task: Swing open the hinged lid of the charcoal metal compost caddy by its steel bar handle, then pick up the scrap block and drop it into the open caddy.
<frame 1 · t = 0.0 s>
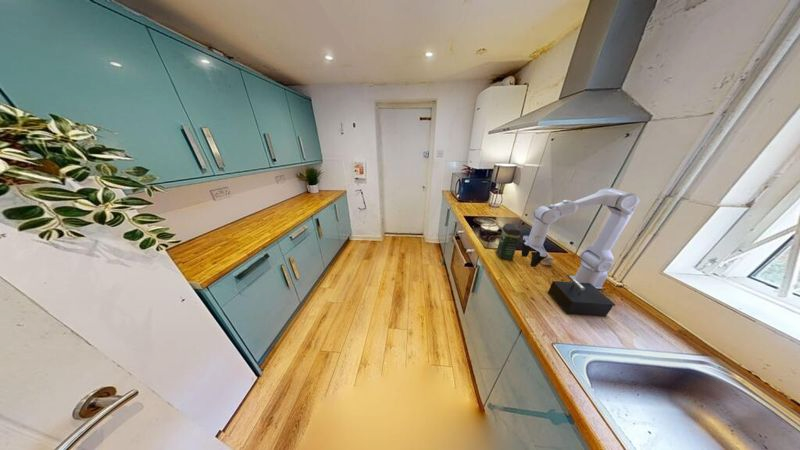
hand: (528, 261, 89), 10 cm above the counter, tool pointing down, fingers open, 7 cm apart
caddy lid: (583, 288, 76), point 8 cm above the counter, hinge at 0.0°
coffee jar: (504, 255, 111), on the counter
caddy: (574, 303, 80), on the counter
scrap block: (544, 262, 106), on the counter
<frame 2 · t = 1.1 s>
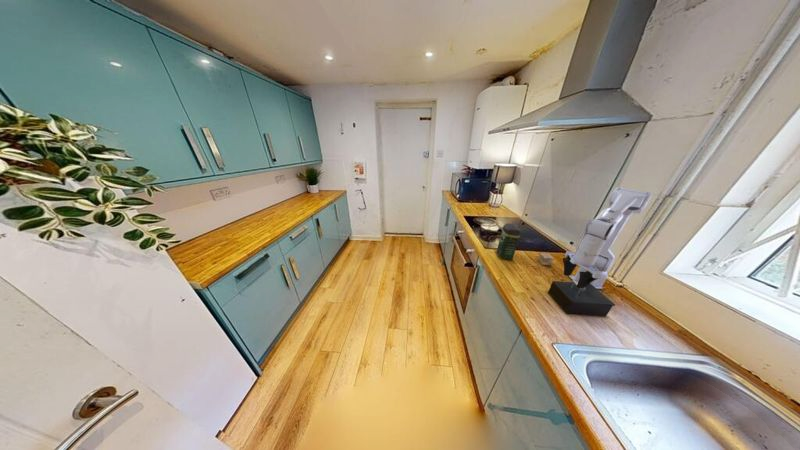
hand: (573, 281, 77), 10 cm above the counter, tool pointing down, fingers open, 7 cm apart
caddy lid: (583, 288, 76), point 8 cm above the counter, hinge at -0.2°, touching caddy, gripper
everything else where it was.
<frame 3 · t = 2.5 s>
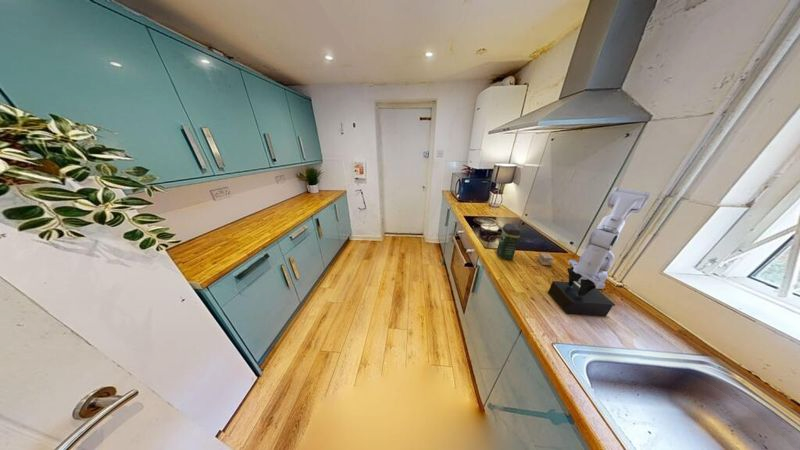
hand: (576, 290, 77), 7 cm above the counter, tool pointing down, fingers closed on caddy lid, 4 cm apart
caddy lid: (583, 288, 76), point 8 cm above the counter, hinge at -0.2°, touching caddy, gripper
everything else where it was.
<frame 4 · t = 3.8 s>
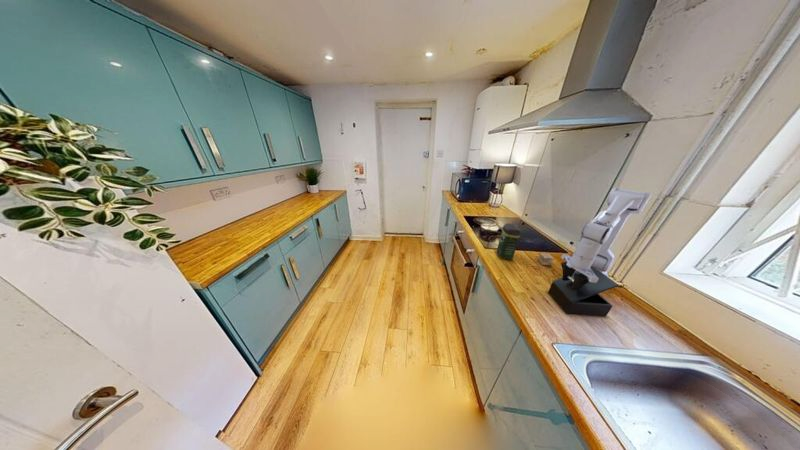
hand: (569, 284, 76), 10 cm above the counter, tool pointing down, fingers closed on caddy lid, 4 cm apart
caddy lid: (581, 279, 75), point 12 cm above the counter, hinge at 36.9°, touching gripper
everything else where it was.
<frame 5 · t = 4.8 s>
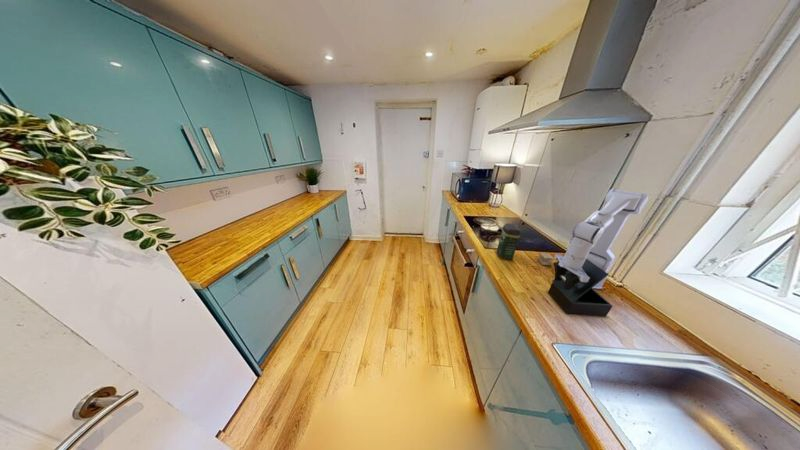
hand: (561, 284, 76), 9 cm above the counter, tool pointing down, fingers closed on caddy lid, 4 cm apart
caddy lid: (573, 276, 74), point 14 cm above the counter, hinge at 64.1°, touching gripper
everything else where it was.
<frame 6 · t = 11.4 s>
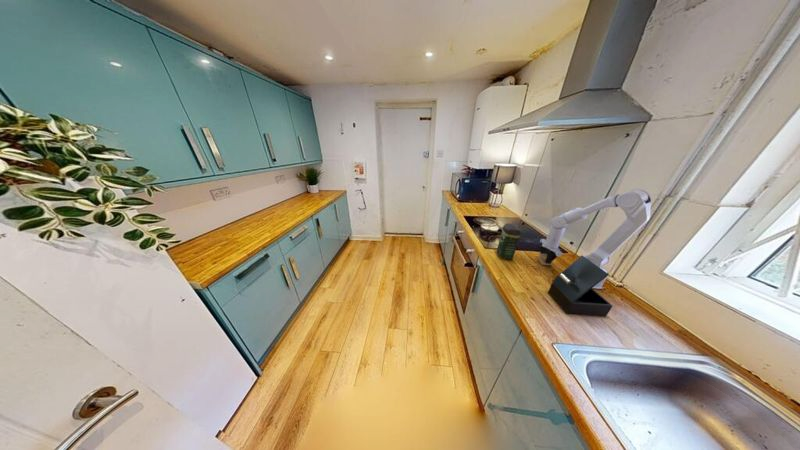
hand: (545, 260, 105), 1 cm above the counter, tool pointing down, fingers closed on scrap block, 4 cm apart
caddy lid: (573, 276, 74), point 14 cm above the counter, hinge at 63.5°
scrap block: (544, 262, 106), on the counter, touching gripper
everything else where it was.
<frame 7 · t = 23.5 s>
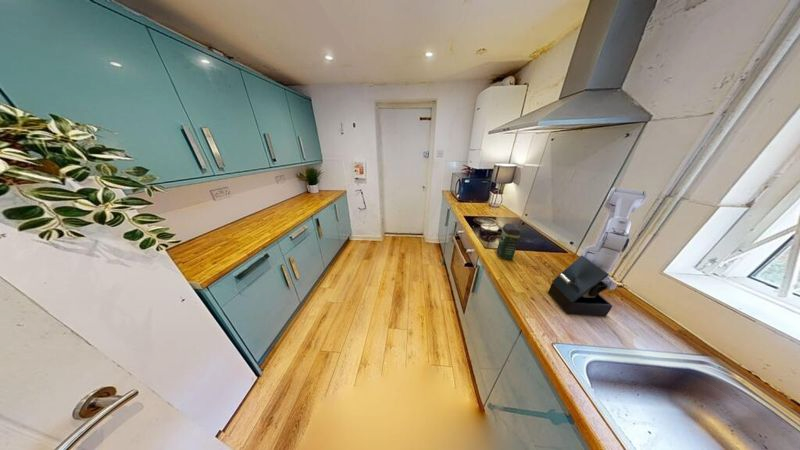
hand: (586, 290, 79), 5 cm above the counter, tool pointing down, fingers closed on scrap block, 4 cm apart
scrap block: (584, 293, 80), point 4 cm above the counter, touching gripper
everything else where it was.
when the fingers open (8 cm above the counter, at t = 33.5 s): scrap block drops 6 cm, resting on caddy.
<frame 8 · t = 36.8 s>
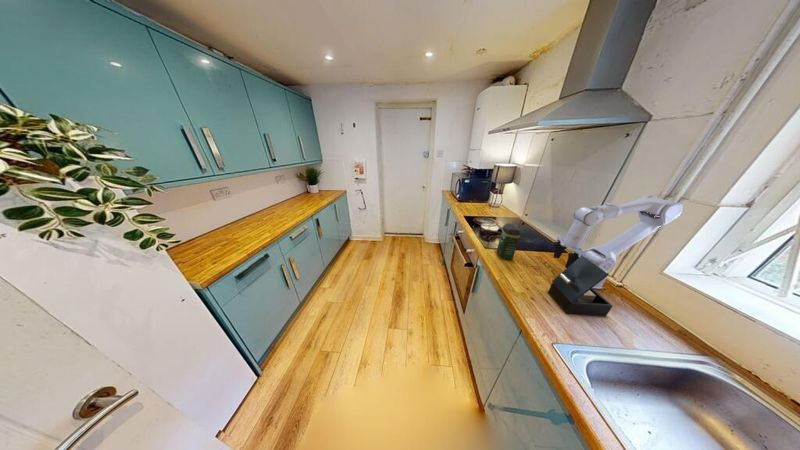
hand: (561, 262, 88), 10 cm above the counter, tool pointing down, fingers open, 7 cm apart
scrap block: (581, 299, 81), point 1 cm above the counter, touching caddy
everything else where it was.
at the end: caddy lid at +64° (first picture: +0°); scrap block inside the target area in the caddy (4.3 cm from its centre), point 0.7 cm above the caddy's base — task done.
